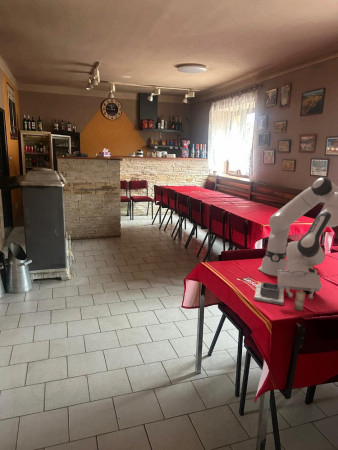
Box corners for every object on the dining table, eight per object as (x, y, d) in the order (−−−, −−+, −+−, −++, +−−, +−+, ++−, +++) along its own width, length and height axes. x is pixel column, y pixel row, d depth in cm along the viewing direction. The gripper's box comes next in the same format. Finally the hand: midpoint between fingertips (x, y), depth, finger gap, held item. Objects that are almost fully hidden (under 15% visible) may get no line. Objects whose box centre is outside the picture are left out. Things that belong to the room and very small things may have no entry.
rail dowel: (293, 306, 163) (296, 290, 162) (302, 308, 162) (305, 291, 160) (294, 309, 160) (296, 293, 158) (303, 311, 158) (305, 294, 157)
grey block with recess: (257, 286, 187) (258, 277, 186) (283, 290, 183) (284, 282, 182) (254, 299, 168) (255, 290, 167) (283, 305, 164) (284, 295, 163)
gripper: (278, 267, 166) (280, 293, 158) (320, 270, 164) (324, 297, 157) (274, 272, 171) (277, 298, 163) (315, 275, 170) (319, 301, 162)
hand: (300, 297), depth 160 cm, fingers open, 8 cm apart
